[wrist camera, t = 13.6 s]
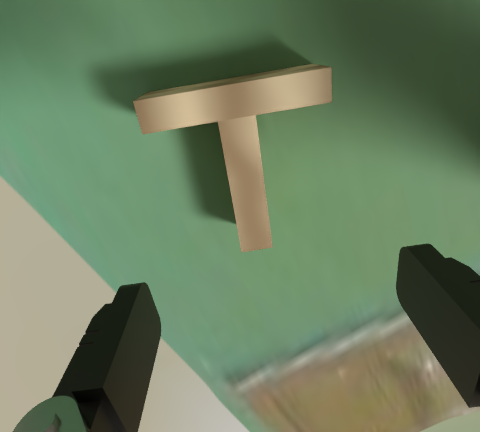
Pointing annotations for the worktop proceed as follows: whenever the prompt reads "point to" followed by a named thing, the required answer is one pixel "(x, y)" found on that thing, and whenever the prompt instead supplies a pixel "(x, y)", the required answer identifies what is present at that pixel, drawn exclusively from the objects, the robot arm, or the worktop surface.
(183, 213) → the worktop surface
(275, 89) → the wooden pusher
